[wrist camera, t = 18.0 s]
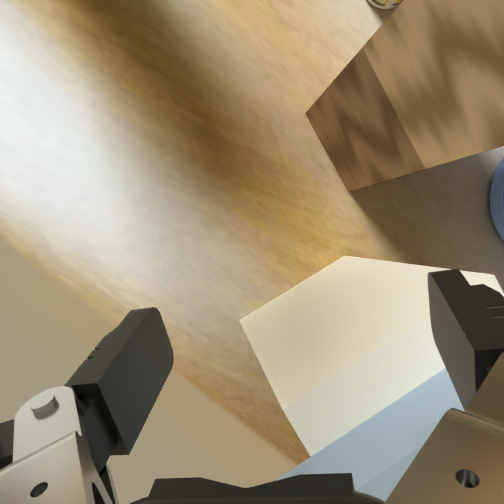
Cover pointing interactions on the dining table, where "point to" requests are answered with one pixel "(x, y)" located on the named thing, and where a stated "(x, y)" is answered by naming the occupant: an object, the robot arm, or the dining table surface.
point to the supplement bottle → (385, 3)
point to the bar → (386, 439)
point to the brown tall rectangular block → (417, 92)
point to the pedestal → (348, 343)
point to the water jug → (498, 200)
